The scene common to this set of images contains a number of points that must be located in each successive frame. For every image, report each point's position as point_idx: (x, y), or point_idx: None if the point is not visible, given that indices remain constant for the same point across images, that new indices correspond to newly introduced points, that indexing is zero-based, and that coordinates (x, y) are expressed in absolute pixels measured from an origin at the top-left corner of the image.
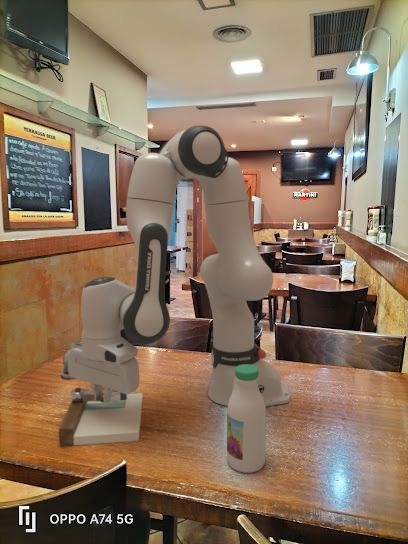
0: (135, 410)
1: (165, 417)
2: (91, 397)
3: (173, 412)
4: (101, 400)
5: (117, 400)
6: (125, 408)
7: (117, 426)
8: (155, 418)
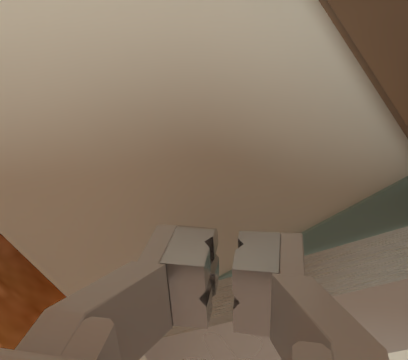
0: None
1: (17, 317)
2: (381, 259)
3: None
4: (200, 236)
5: None
6: None
7: (31, 116)
8: (43, 297)
